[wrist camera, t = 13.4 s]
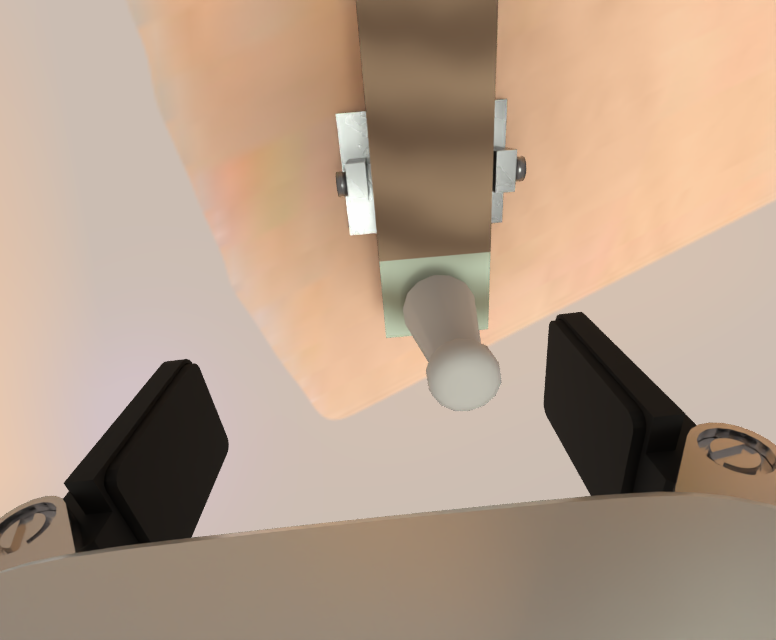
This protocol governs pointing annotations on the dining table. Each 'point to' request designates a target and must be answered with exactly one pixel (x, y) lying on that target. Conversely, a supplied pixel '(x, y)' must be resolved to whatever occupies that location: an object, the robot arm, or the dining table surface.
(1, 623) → the robot arm
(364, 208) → the beam stand
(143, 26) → the dining table surface
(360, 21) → the balance beam
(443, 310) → the salt shaker
